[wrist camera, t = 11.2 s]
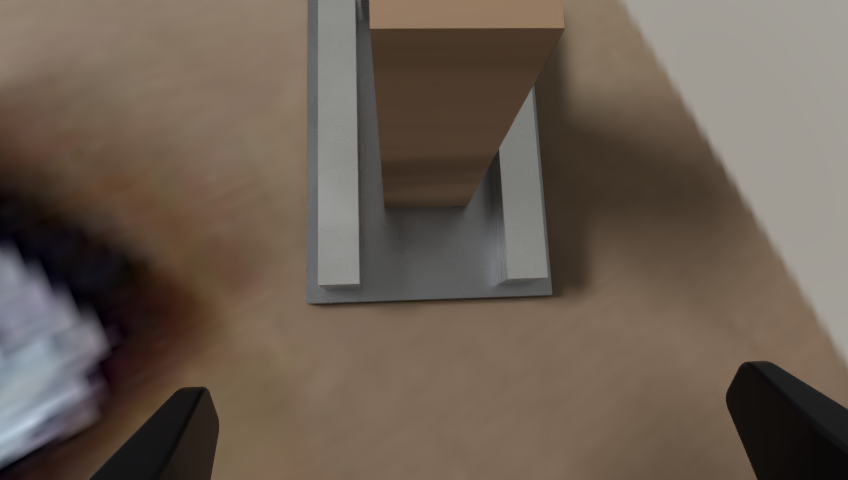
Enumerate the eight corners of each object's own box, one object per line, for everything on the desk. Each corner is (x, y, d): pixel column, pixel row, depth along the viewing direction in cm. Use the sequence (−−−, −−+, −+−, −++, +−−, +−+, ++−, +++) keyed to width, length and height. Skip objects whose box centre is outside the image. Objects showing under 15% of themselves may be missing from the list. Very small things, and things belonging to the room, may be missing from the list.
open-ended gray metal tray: (548, 296, 21) (568, 290, 19) (309, 304, 21) (296, 299, 18) (523, 0, 24) (538, -40, 22) (310, -1, 23) (299, -42, 21)
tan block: (467, 205, 21) (564, 28, 9) (384, 207, 21) (369, 28, 9) (460, 74, 23) (537, -240, 10) (381, 75, 22) (363, -246, 10)
